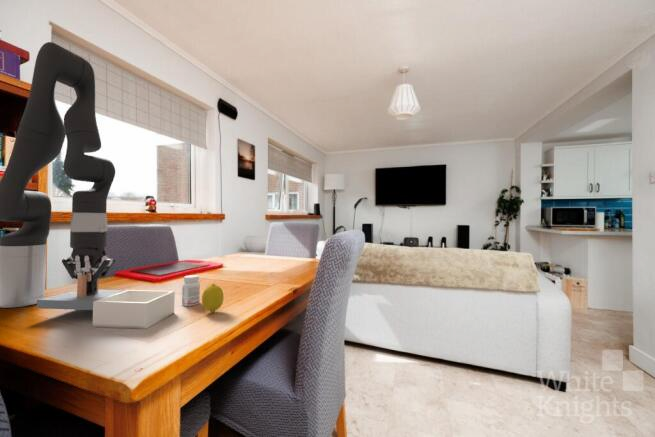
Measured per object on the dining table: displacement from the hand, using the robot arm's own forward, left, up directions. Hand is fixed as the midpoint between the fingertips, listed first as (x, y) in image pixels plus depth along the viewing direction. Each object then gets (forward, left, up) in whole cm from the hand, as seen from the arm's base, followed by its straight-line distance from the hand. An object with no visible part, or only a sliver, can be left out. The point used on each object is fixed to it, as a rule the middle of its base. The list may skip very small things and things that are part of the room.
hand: (88, 294), depth 74 cm
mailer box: (+16, -3, -5) cm, 17 cm away
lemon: (+32, +4, -5) cm, 33 cm away
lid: (0, 0, -2) cm, 2 cm away
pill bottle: (+22, +11, -5) cm, 25 cm away
